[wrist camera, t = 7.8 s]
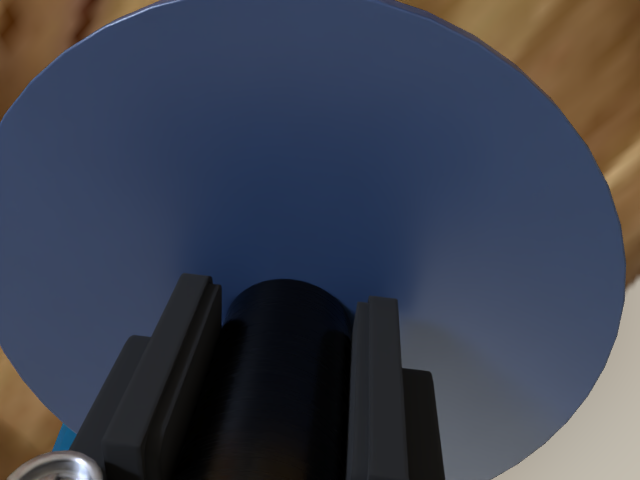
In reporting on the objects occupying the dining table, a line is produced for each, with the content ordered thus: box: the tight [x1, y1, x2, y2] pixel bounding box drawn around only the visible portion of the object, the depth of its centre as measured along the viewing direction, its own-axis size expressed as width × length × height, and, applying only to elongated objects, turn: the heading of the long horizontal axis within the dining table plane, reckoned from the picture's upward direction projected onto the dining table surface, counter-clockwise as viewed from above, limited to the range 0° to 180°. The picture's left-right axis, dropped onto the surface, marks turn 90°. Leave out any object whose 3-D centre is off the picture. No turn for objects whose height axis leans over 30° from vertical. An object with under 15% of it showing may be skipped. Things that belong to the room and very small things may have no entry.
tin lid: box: [0, 0, 626, 480], centre depth 10 cm, size 13×13×6 cm
